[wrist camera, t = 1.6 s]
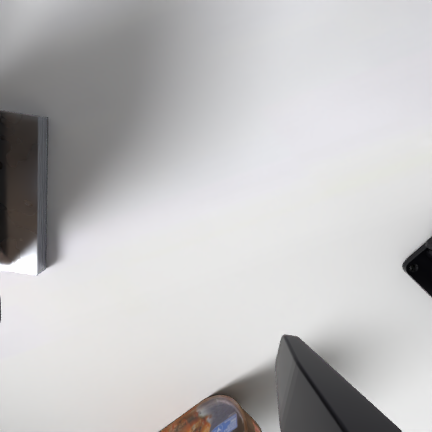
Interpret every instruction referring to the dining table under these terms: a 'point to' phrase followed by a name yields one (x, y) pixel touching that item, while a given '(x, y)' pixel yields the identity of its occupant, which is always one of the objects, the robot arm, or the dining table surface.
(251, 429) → the tin
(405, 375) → the dining table surface
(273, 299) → the dining table surface
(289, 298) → the dining table surface
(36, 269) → the stand
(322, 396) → the robot arm
